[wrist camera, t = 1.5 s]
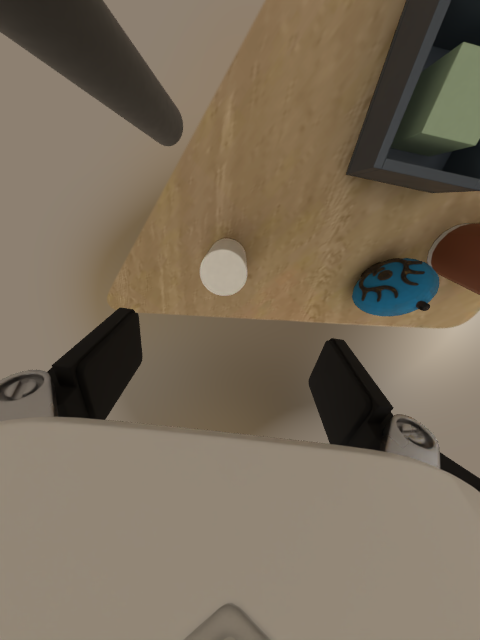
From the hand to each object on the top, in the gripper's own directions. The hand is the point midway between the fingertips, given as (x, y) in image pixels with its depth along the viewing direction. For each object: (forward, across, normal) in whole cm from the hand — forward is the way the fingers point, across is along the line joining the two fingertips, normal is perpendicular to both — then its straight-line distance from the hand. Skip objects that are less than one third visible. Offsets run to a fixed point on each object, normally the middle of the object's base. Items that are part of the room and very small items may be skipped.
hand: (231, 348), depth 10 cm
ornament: (+20, -18, 0) cm, 27 cm away
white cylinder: (+20, +2, 0) cm, 20 cm away
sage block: (+19, -16, -16) cm, 30 cm away
